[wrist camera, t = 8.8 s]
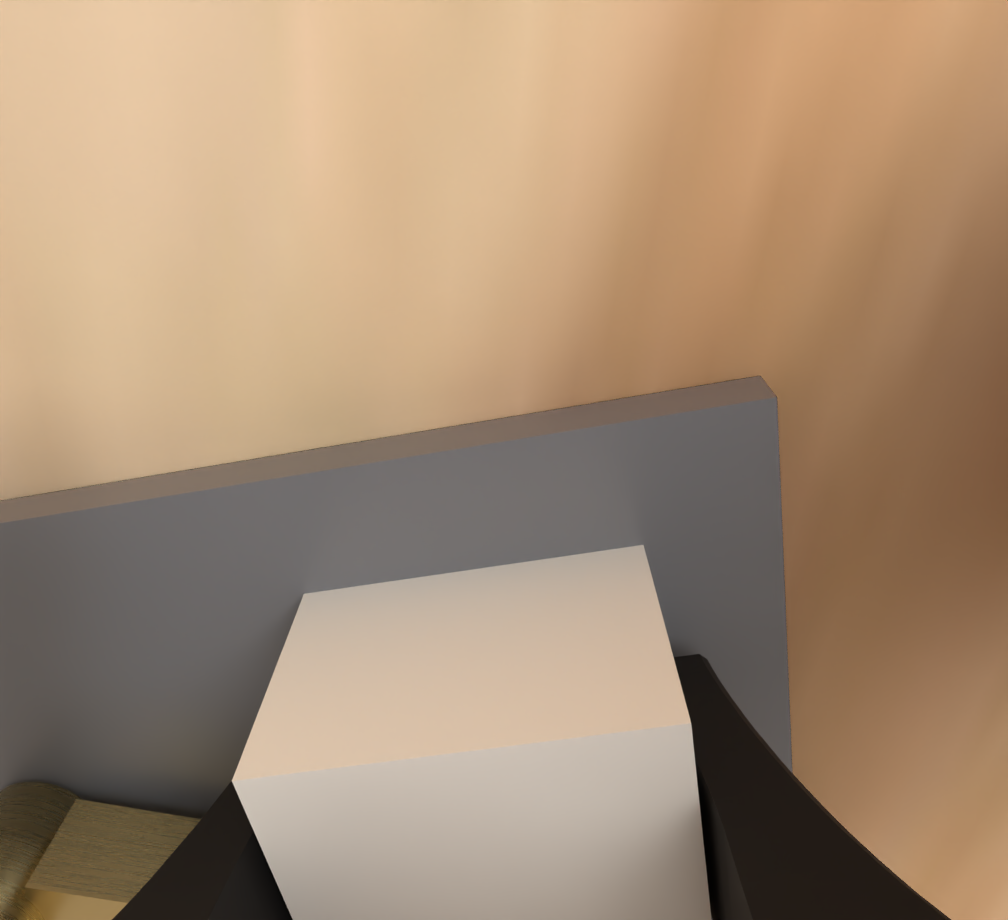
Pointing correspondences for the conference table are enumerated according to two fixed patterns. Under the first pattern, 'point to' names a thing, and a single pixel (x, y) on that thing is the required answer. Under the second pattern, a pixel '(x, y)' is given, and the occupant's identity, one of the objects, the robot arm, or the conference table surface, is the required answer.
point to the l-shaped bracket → (77, 853)
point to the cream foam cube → (481, 750)
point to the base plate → (366, 572)
